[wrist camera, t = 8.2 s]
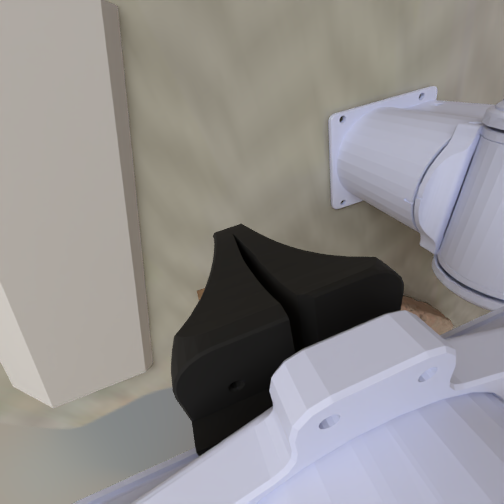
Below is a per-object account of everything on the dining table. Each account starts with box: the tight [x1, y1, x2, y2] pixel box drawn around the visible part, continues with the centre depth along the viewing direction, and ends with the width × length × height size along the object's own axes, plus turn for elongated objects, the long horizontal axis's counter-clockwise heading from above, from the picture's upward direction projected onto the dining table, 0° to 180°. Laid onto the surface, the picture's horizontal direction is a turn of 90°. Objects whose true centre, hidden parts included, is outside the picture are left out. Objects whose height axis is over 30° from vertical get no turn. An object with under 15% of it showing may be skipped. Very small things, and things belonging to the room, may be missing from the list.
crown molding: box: [0, 0, 153, 408], centre depth 19 cm, size 29×12×4 cm, turn 174°
